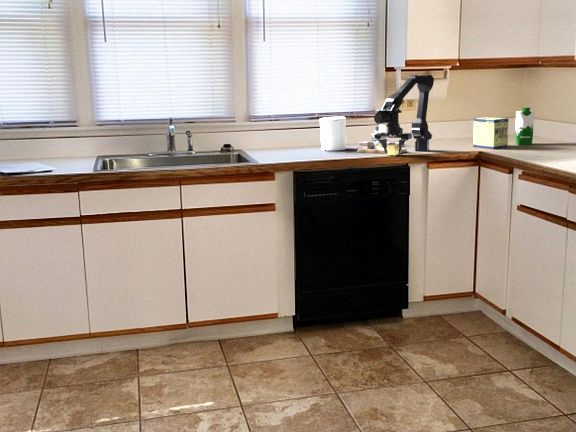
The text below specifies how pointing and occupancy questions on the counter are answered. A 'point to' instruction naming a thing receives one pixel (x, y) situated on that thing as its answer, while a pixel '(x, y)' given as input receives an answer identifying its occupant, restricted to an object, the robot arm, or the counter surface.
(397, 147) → the block
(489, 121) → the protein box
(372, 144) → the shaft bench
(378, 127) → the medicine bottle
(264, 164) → the counter surface
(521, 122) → the milk carton
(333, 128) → the utensil holder
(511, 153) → the counter surface
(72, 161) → the counter surface
